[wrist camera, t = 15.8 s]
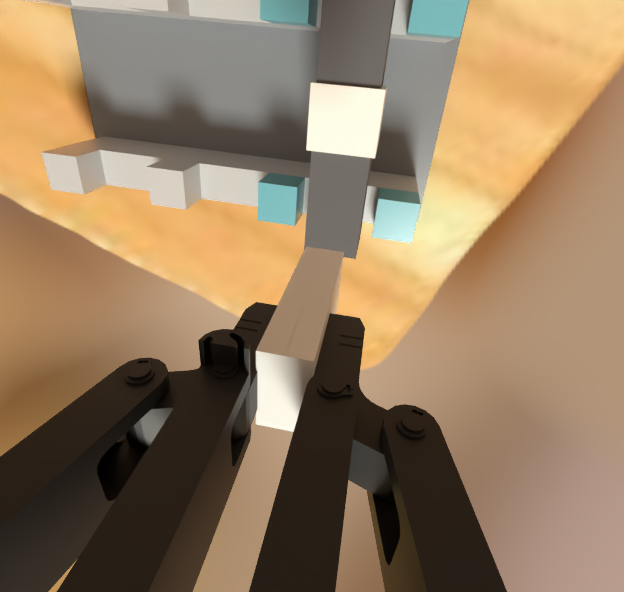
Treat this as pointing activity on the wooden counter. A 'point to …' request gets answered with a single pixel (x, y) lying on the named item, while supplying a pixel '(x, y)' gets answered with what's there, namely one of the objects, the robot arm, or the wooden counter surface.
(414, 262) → the wooden counter surface
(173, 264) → the wooden counter surface
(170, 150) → the grey peg rack
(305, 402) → the robot arm
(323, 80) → the grey banded pillar
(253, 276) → the wooden counter surface
